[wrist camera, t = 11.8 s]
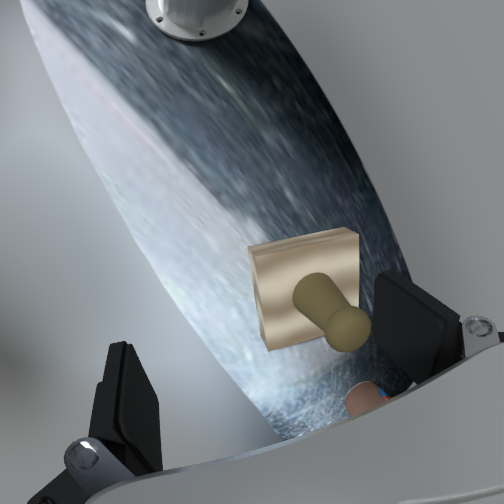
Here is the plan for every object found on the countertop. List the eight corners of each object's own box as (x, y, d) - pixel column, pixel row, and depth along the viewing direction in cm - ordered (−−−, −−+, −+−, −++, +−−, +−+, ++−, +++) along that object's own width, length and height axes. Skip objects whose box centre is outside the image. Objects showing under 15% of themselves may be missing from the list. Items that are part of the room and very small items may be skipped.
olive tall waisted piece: (342, 288, 42) (388, 328, 32) (312, 321, 42) (350, 368, 32) (315, 263, 40) (360, 301, 30) (282, 298, 40) (318, 346, 30)
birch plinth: (247, 246, 41) (255, 256, 37) (343, 227, 44) (358, 234, 40) (260, 336, 46) (268, 351, 42) (345, 312, 49) (357, 324, 45)
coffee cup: (384, 392, 59) (414, 427, 48) (343, 418, 58) (369, 458, 47) (375, 364, 55) (410, 403, 44) (330, 394, 54) (359, 438, 43)
